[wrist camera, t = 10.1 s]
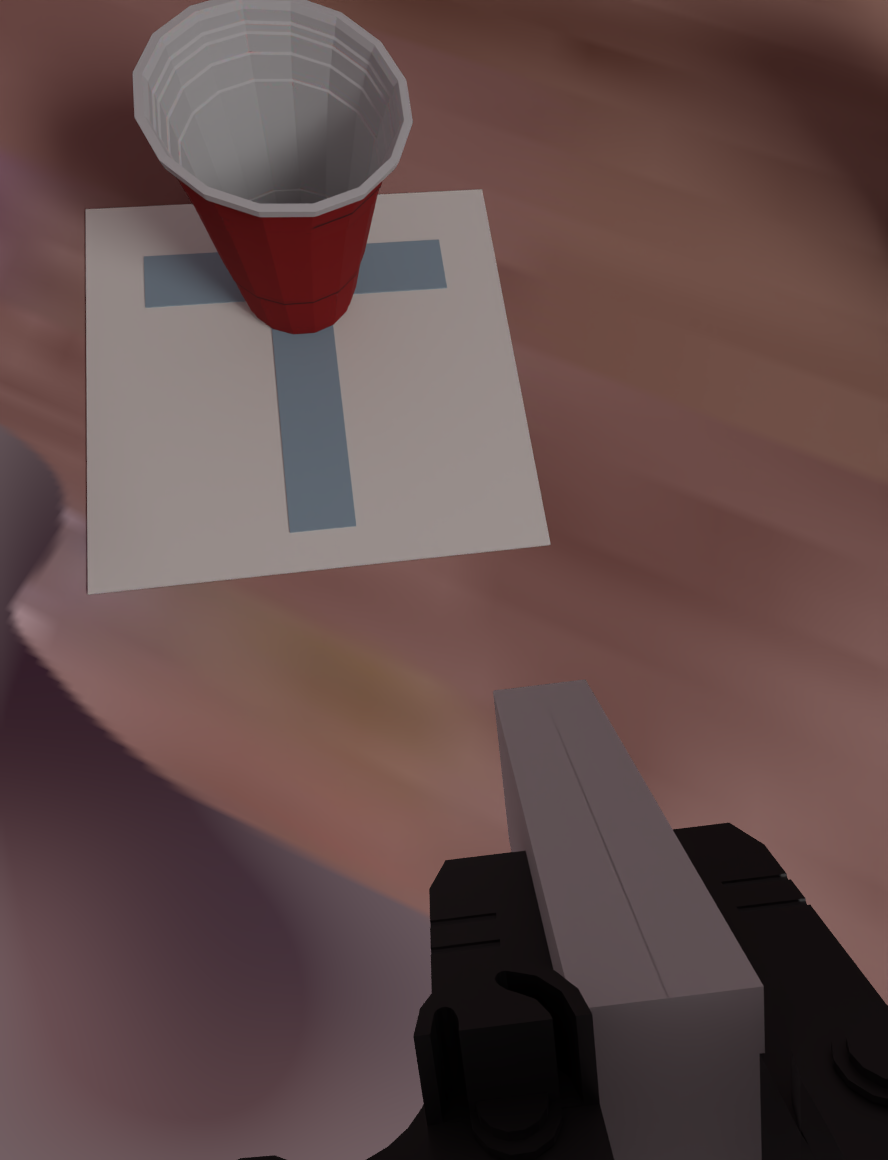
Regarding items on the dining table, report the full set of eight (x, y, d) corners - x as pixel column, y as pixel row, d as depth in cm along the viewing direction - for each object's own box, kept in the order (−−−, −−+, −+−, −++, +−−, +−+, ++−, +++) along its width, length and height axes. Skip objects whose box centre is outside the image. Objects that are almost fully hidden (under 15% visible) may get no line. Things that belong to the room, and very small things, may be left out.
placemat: (481, 190, 44) (482, 188, 44) (550, 545, 38) (550, 543, 38) (86, 210, 42) (84, 208, 42) (88, 594, 35) (87, 593, 35)
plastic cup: (345, 413, 39) (332, 244, 28) (160, 325, 40) (72, 125, 28) (437, 260, 42) (459, 53, 31) (265, 181, 43) (224, -49, 32)
